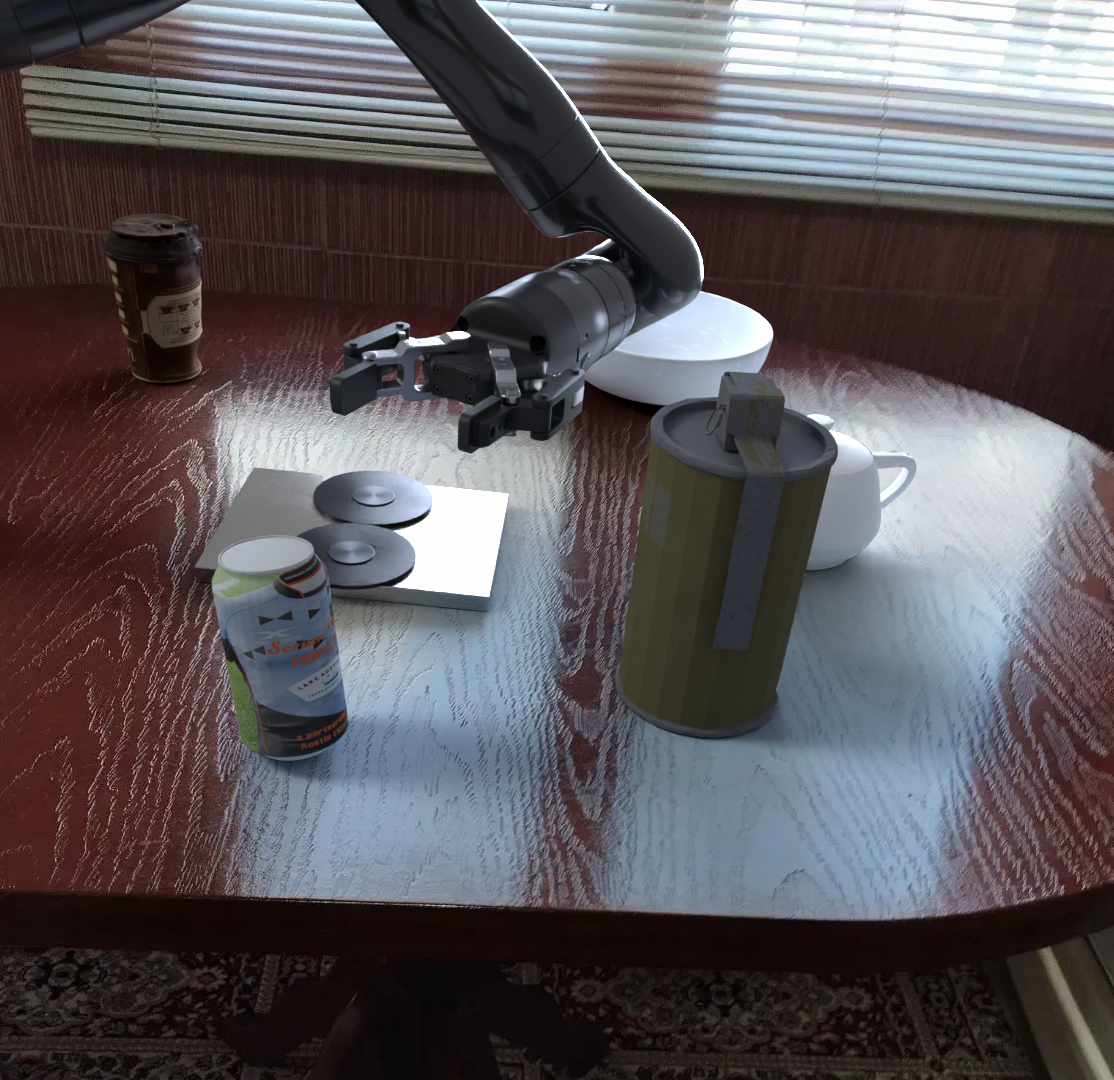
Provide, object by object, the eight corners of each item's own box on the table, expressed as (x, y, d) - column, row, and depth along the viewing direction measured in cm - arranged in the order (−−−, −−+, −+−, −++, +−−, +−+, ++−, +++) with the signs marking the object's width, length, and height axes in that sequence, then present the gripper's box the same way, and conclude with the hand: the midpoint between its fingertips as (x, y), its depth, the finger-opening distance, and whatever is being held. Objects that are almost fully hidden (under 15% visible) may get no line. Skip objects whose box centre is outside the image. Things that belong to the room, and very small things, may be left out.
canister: (606, 642, 80) (645, 346, 68) (758, 647, 82) (823, 357, 70) (624, 741, 72) (673, 422, 60) (794, 746, 73) (876, 434, 61)
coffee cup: (235, 370, 112) (224, 223, 104) (177, 397, 106) (161, 244, 98) (160, 349, 115) (143, 204, 107) (98, 374, 109) (76, 223, 101)
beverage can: (300, 790, 66) (290, 601, 59) (200, 740, 68) (179, 552, 61) (372, 735, 70) (371, 553, 63) (276, 690, 73) (264, 510, 66)
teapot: (701, 593, 87) (725, 462, 81) (639, 514, 96) (657, 391, 90) (938, 570, 93) (977, 447, 87) (858, 498, 102) (888, 382, 96)
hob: (191, 589, 81) (188, 568, 80) (258, 475, 96) (256, 456, 95) (486, 619, 81) (488, 599, 80) (509, 501, 96) (510, 483, 95)
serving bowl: (505, 372, 118) (509, 301, 114) (652, 337, 130) (661, 272, 126) (657, 449, 106) (668, 373, 102) (803, 403, 118) (819, 333, 114)
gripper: (441, 258, 80) (291, 322, 68) (636, 305, 75) (512, 382, 64) (439, 369, 84) (298, 447, 73) (623, 419, 80) (505, 511, 68)
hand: (398, 417), depth 68 cm, fingers open, 8 cm apart
